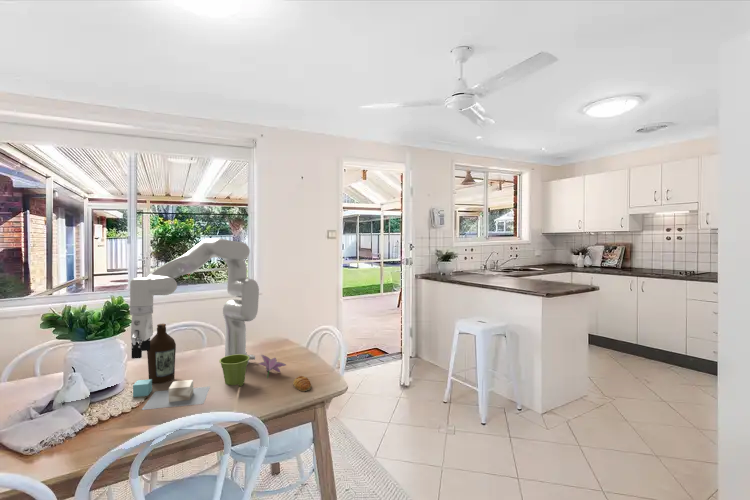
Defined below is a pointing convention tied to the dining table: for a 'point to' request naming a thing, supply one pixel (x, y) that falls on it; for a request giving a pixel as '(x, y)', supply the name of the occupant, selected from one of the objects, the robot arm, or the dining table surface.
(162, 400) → the slate board
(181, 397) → the cream base block
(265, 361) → the lily
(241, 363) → the plant pot
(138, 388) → the teal block
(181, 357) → the dining table surface
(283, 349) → the dining table surface
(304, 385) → the pastry
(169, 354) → the olive oil
